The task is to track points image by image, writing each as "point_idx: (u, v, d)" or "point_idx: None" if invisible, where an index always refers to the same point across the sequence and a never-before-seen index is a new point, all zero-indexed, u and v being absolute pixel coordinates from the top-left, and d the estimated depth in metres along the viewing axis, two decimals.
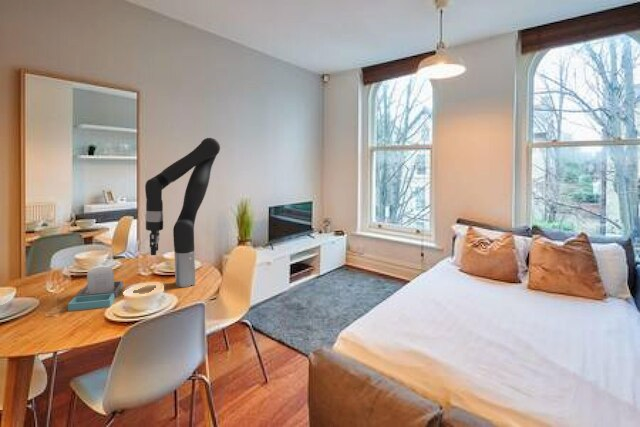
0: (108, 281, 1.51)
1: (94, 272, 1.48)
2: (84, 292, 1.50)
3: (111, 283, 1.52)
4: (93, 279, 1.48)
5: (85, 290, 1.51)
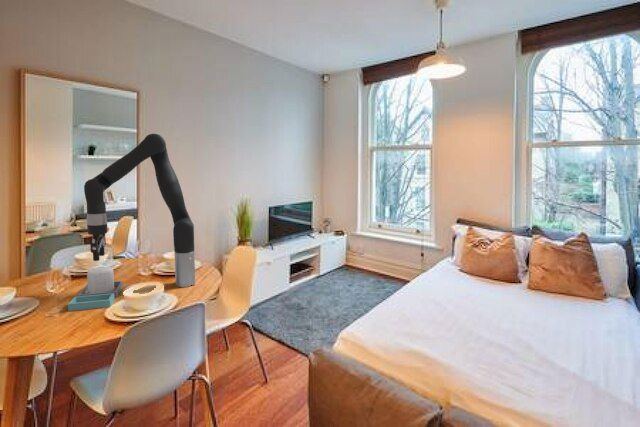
0: (108, 281, 1.51)
1: (94, 272, 1.48)
2: (84, 292, 1.50)
3: (111, 283, 1.52)
4: (93, 279, 1.48)
5: (85, 290, 1.51)
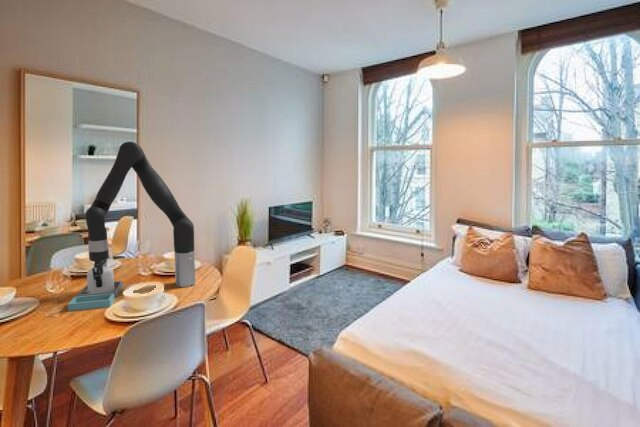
0: (108, 281, 1.51)
1: None
2: (84, 292, 1.50)
3: (111, 283, 1.52)
4: (93, 279, 1.48)
5: (85, 290, 1.51)
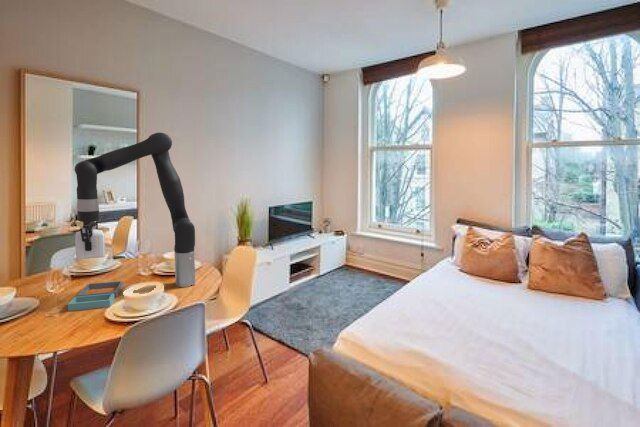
0: (98, 245, 1.39)
1: None
2: (84, 292, 1.50)
3: (101, 247, 1.40)
4: None
5: (85, 290, 1.51)
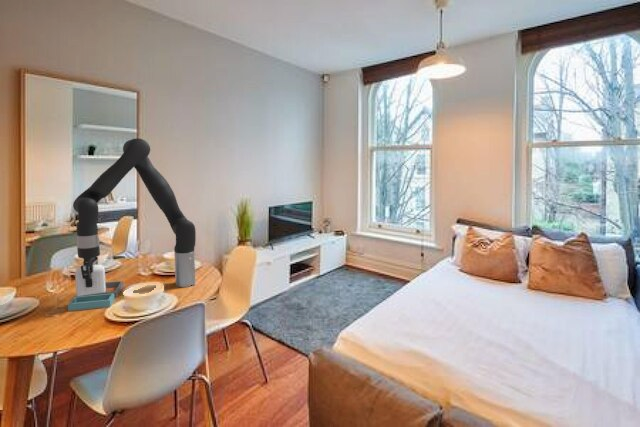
0: (98, 280, 1.38)
1: None
2: None
3: (102, 283, 1.39)
4: (82, 278, 1.34)
5: None
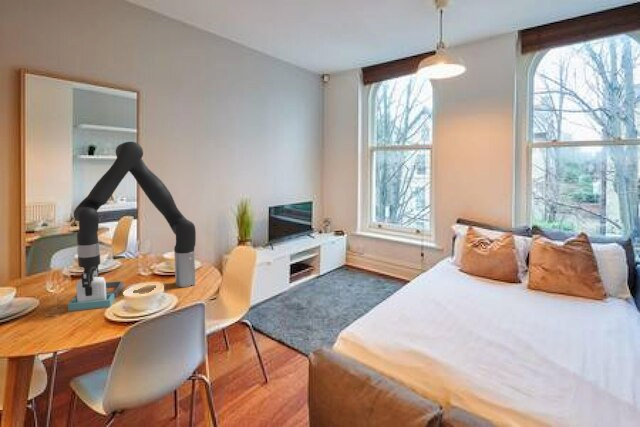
0: (99, 293, 1.38)
1: None
2: None
3: (103, 295, 1.39)
4: (83, 290, 1.35)
5: None
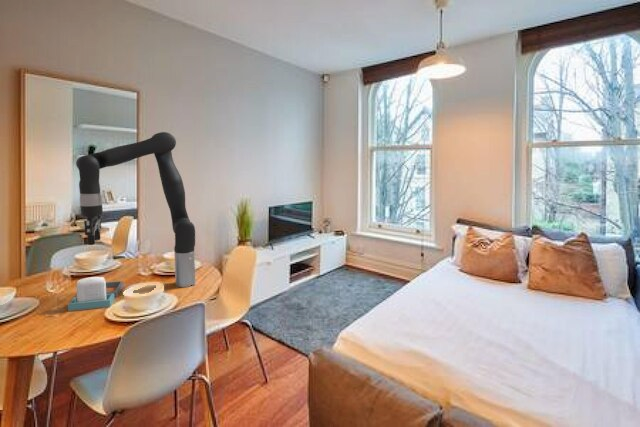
0: (99, 293, 1.38)
1: (83, 283, 1.35)
2: None
3: (103, 295, 1.39)
4: (83, 290, 1.35)
5: None
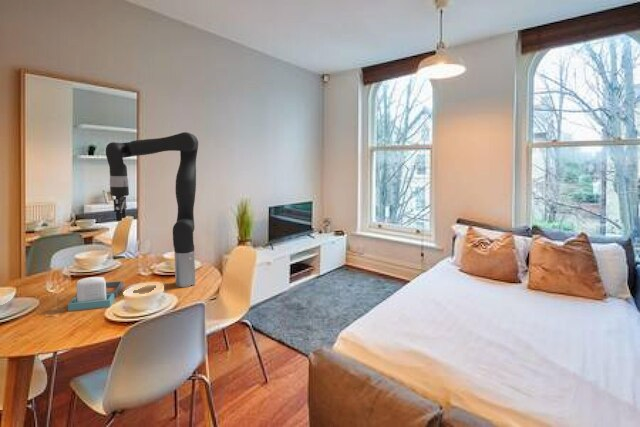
0: (99, 293, 1.38)
1: (83, 283, 1.35)
2: None
3: (103, 295, 1.39)
4: (83, 290, 1.35)
5: None
